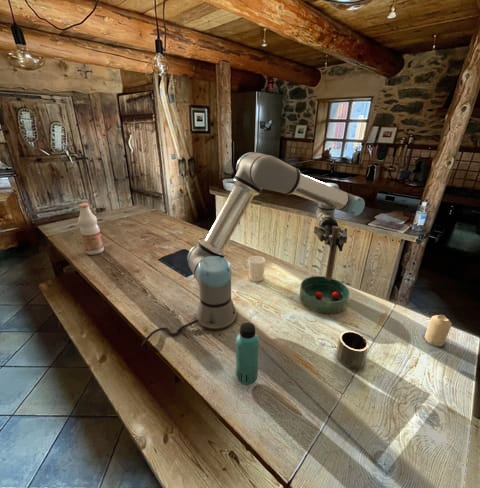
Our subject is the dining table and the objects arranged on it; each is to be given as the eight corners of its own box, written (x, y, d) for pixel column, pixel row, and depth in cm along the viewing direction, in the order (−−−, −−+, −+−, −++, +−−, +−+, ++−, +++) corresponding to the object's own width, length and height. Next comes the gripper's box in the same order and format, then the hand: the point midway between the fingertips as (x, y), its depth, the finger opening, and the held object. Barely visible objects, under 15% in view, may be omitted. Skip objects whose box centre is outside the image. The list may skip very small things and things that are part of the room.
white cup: (263, 283, 124) (264, 264, 120) (246, 281, 125) (247, 262, 121) (265, 274, 131) (266, 256, 127) (249, 272, 133) (249, 255, 128)
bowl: (326, 322, 100) (329, 309, 98) (289, 296, 114) (291, 285, 112) (356, 303, 110) (359, 291, 108) (319, 282, 125) (320, 271, 122)
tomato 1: (315, 294, 110) (322, 296, 109) (316, 289, 112) (323, 291, 111) (314, 299, 112) (321, 301, 111) (315, 294, 114) (322, 296, 113)
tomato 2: (334, 298, 109) (338, 292, 110) (329, 296, 112) (332, 289, 112) (338, 301, 111) (341, 295, 111) (332, 298, 113) (336, 292, 114)
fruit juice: (82, 253, 151) (69, 205, 140) (96, 246, 159) (85, 201, 148) (94, 256, 148) (82, 207, 137) (107, 249, 156) (97, 203, 144)
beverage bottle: (256, 369, 81) (258, 317, 72) (259, 390, 74) (261, 335, 66) (235, 370, 80) (235, 318, 72) (235, 390, 74) (235, 336, 66)
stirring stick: (328, 281, 104) (337, 228, 95) (323, 278, 106) (331, 226, 97) (332, 279, 105) (341, 227, 96) (327, 276, 107) (336, 225, 98)
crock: (353, 375, 79) (358, 355, 76) (330, 357, 85) (334, 338, 82) (368, 362, 83) (374, 342, 80) (346, 345, 89) (350, 327, 86)
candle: (425, 332, 95) (433, 310, 91) (444, 339, 92) (453, 316, 88) (423, 341, 91) (431, 318, 87) (442, 349, 88) (452, 325, 84)
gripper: (344, 233, 116) (357, 258, 94) (308, 231, 118) (313, 255, 97) (347, 217, 113) (361, 239, 91) (310, 215, 115) (315, 236, 94)
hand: (336, 247), depth 94 cm, fingers closed on stirring stick, 2 cm apart
